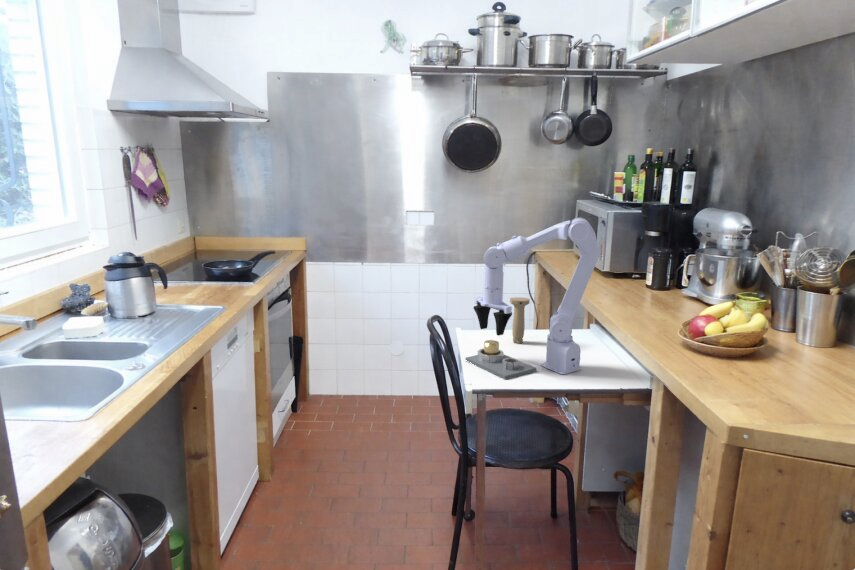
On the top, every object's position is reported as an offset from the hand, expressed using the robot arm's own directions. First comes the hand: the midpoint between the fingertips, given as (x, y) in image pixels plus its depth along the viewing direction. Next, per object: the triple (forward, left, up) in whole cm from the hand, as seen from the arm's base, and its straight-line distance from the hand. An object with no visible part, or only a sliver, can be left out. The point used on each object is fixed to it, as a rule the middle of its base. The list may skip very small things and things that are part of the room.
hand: (491, 331), depth 170 cm
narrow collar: (-9, 0, -9) cm, 13 cm away
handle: (+9, -20, -10) cm, 24 cm away
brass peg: (0, 0, -8) cm, 8 cm away
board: (-5, 0, -9) cm, 10 cm away
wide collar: (0, 0, -9) cm, 9 cm away
